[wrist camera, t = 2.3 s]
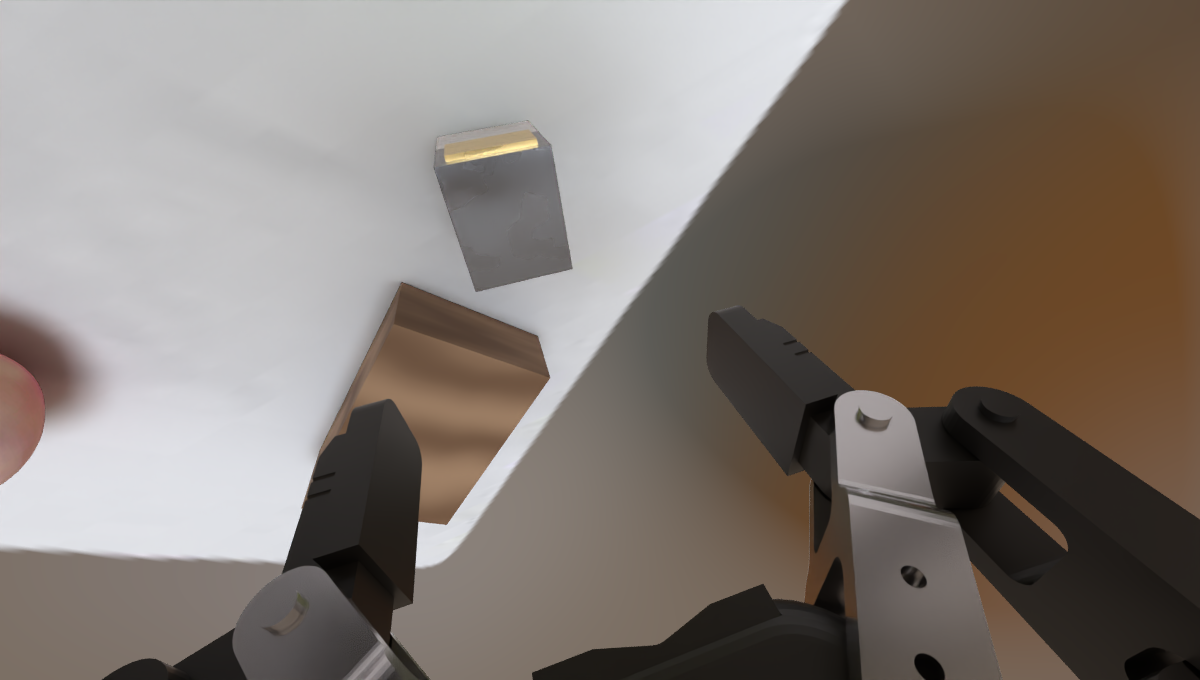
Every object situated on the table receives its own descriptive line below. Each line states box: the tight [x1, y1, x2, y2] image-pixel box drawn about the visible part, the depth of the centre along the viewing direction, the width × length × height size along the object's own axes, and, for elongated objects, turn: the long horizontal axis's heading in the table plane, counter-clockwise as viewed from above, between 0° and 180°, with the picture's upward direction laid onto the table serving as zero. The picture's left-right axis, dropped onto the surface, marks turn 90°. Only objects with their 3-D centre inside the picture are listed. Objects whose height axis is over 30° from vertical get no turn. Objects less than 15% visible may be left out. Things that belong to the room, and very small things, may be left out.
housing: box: [434, 121, 572, 292], centre depth 22 cm, size 5×6×7 cm
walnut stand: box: [302, 283, 550, 525], centre depth 30 cm, size 16×10×5 cm, turn 145°
